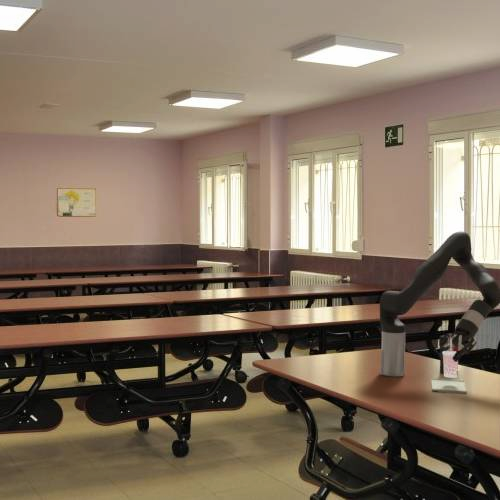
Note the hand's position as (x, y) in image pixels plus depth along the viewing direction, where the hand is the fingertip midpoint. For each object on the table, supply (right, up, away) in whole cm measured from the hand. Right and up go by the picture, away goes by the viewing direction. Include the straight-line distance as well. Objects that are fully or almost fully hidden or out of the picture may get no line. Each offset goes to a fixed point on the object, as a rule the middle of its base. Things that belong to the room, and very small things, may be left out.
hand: (447, 358), depth 270 cm
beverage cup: (+1, -7, +1) cm, 7 cm away
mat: (0, -11, 0) cm, 11 cm away
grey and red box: (+8, -10, +27) cm, 30 cm away
